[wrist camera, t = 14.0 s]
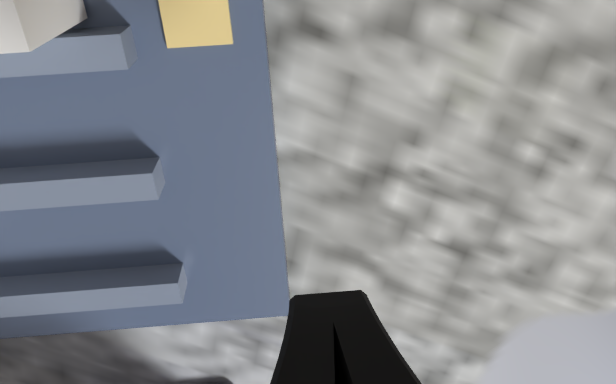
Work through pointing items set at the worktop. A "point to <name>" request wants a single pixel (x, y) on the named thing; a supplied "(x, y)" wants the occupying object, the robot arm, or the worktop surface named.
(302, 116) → the worktop surface
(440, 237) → the worktop surface
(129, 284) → the switch board
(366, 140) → the worktop surface
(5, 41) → the tab
